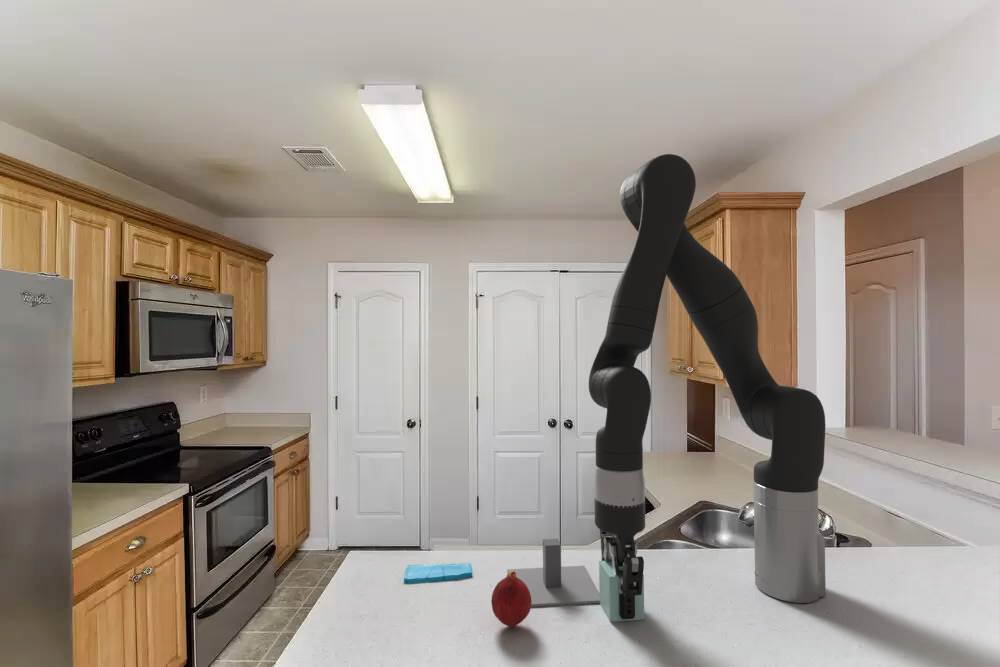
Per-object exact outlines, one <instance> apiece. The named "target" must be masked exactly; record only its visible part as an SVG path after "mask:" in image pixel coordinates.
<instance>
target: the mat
mask: <svg viewBox="0 0 1000 667" xmlns="http://www.w3.org/2000/svg"><path fill="white" fill-rule="evenodd" d="M585 566H586V565H568V566H567V565H566V566H561V587H557V588H546V587H545V584H544V581H543V567H532V568H531V567H529V568H528V567H526V568H509V569H508V568H507V569H506V572H507V574H508V572H509V571H511V570H513V571H515V572H516V577H517V578H519V579H521V580H522V581H523V582H524V583H525V584H526V586H527V587H528V589H529V592H530V595H531V601H532V602H531V608H534V607H552V606H569V605H570V606H571V605H588V604H589V605H591V604H600V591H599V590H598V588H597V586H596V585H595V582H594V581H593V579H592V577H591V576H590V574H589V572H588V570H587V568H586V567H585Z"/></svg>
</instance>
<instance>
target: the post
mask: <svg viewBox="0 0 1000 667" xmlns="http://www.w3.org/2000/svg"><path fill="white" fill-rule="evenodd" d="M561 567H562V545H561V543H560V541H559V538H546V539H544V538H543V539H542V568H543V581H544V584H545V587H546V588H557V587H561Z"/></svg>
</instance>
